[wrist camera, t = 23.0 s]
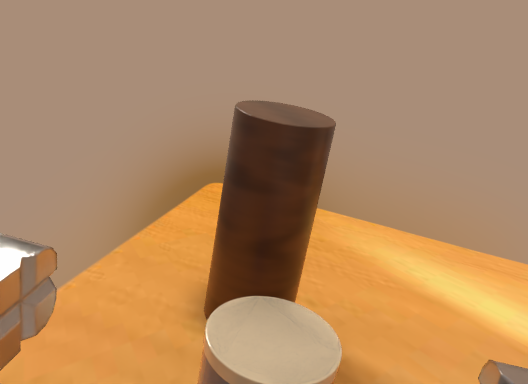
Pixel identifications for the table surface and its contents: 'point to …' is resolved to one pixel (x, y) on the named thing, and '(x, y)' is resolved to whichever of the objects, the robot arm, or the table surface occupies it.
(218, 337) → the tumbler
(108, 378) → the table surface
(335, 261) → the table surface
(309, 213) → the stand
